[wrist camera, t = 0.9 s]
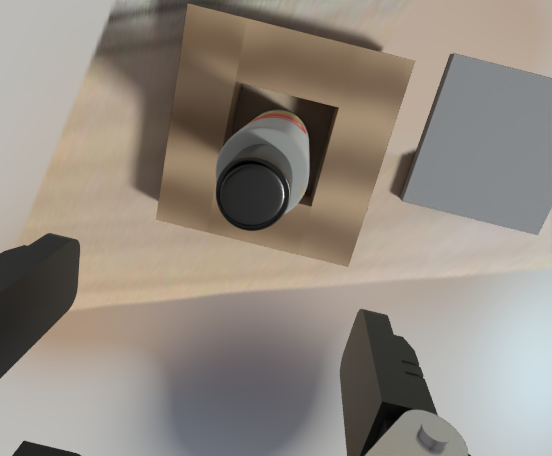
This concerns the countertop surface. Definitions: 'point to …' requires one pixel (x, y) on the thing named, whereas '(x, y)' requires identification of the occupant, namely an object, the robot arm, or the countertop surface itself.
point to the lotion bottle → (263, 170)
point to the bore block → (292, 81)
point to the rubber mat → (486, 146)
